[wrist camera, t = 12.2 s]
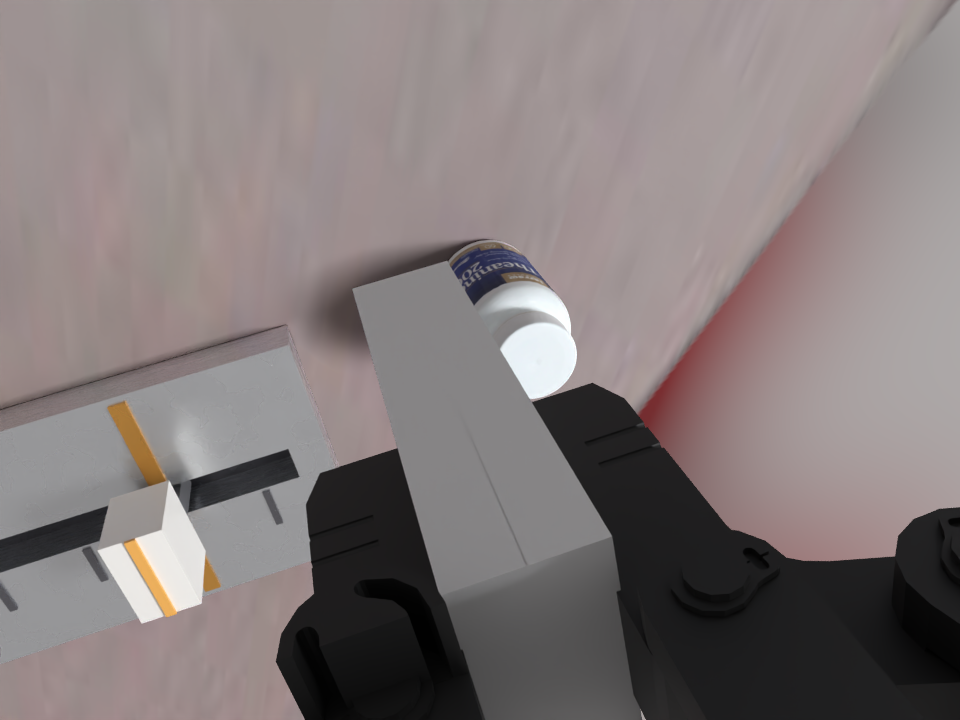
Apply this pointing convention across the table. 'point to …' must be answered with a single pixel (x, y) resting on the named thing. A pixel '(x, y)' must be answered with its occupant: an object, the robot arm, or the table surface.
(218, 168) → the table surface
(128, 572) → the fader knob
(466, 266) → the pill bottle
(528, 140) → the table surface
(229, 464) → the console
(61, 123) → the table surface
